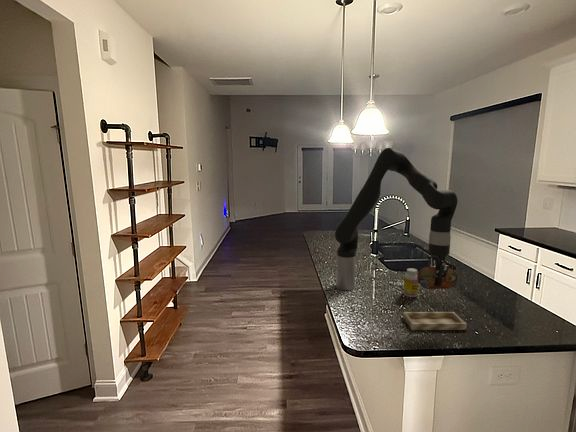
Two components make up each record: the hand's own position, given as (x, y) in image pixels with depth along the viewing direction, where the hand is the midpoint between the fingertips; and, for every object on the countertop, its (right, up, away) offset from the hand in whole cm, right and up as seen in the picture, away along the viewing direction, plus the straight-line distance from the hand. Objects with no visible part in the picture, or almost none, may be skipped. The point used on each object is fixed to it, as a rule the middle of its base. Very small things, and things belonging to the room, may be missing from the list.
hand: (436, 284), depth 128 cm
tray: (0, -16, +3) cm, 16 cm away
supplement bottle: (+1, -12, +30) cm, 32 cm away
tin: (0, -1, +1) cm, 2 cm away
